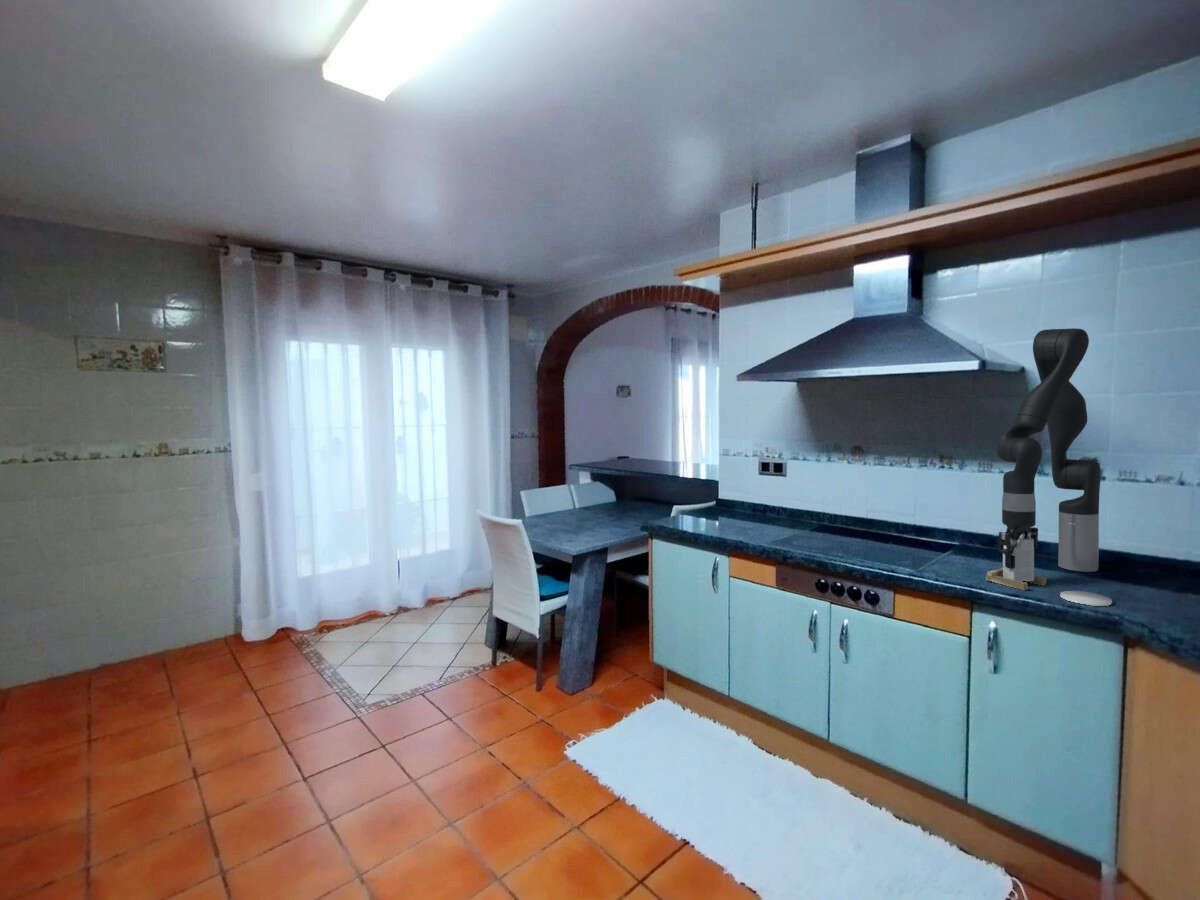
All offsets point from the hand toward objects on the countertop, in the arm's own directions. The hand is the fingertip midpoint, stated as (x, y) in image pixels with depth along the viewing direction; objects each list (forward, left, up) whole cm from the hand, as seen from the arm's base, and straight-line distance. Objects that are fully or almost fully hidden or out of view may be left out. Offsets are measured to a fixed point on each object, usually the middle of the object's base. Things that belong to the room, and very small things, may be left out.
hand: (1018, 565), depth 155 cm
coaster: (0, +16, -5) cm, 17 cm away
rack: (0, 0, -5) cm, 5 cm away
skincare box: (0, 0, -4) cm, 4 cm away
